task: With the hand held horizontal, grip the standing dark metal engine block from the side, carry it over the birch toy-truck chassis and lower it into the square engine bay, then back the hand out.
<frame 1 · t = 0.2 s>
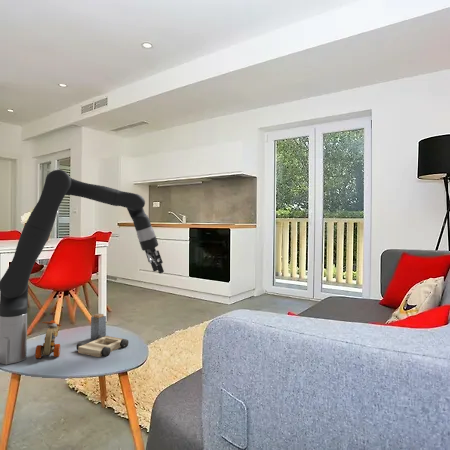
hand: (158, 271, 160), 31 cm above the table, tool tilted 20°, fingers open, 8 cm apart
engine block: (98, 338, 160), on the table
chassis: (103, 348, 147), on the table
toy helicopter: (50, 352, 142), on the table
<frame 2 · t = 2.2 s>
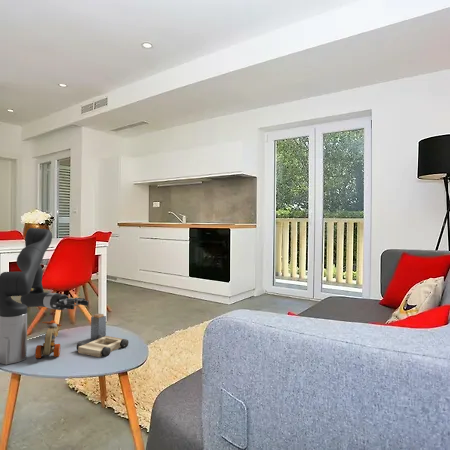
hand: (80, 305, 164), 14 cm above the table, tool horizontal, fingers open, 8 cm apart
nothing on the table moved.
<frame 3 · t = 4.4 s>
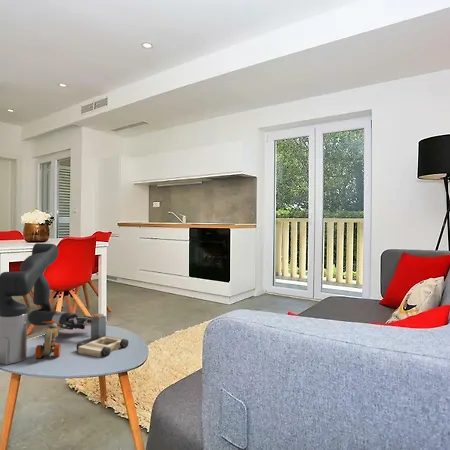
hand: (91, 324, 161), 6 cm above the table, tool horizontal, fingers open, 8 cm apart
nothing on the table moved.
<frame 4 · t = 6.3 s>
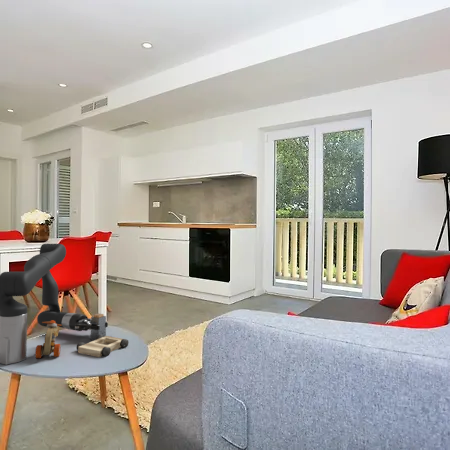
hand: (103, 326, 159), 6 cm above the table, tool horizontal, fingers closed on engine block, 4 cm apart
engine block: (98, 338, 160), on the table, touching gripper
everything else where it was.
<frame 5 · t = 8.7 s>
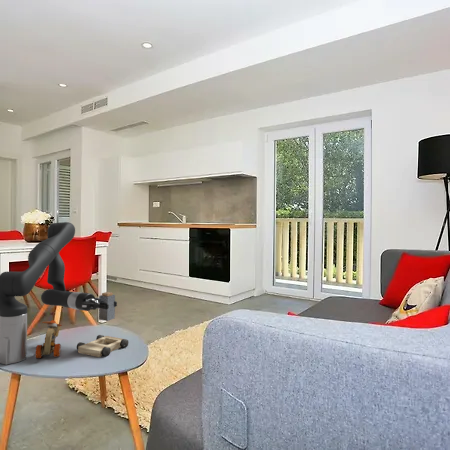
hand: (112, 305, 148), 18 cm above the table, tool horizontal, fingers closed on engine block, 4 cm apart
engine block: (106, 318, 149), point 12 cm above the table, touching gripper
everything else where it was.
when the fingers open (8 cm above the table, at t = 11.0 s): engine block drops 1 cm, resting on chassis.
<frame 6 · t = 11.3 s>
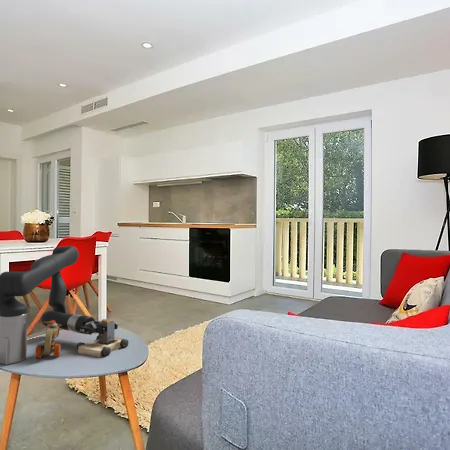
hand: (110, 328, 148), 8 cm above the table, tool horizontal, fingers open, 7 cm apart
engine block: (106, 346, 149), resting on chassis
everything else where it was.
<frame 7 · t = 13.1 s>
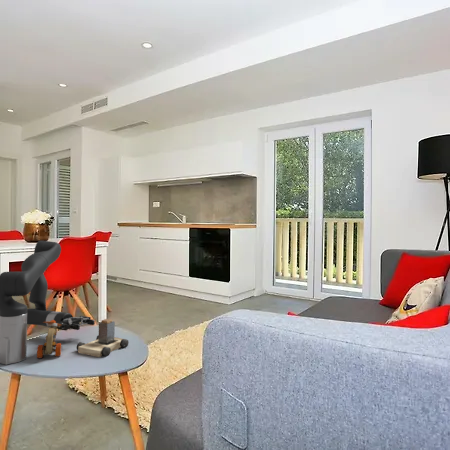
hand: (86, 324, 153), 8 cm above the table, tool horizontal, fingers open, 8 cm apart
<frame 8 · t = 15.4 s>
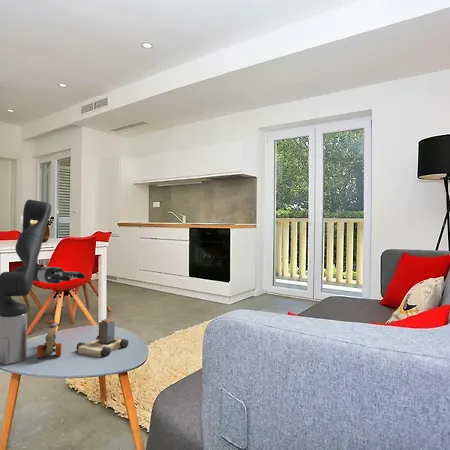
hand: (77, 277, 157), 28 cm above the table, tool horizontal, fingers open, 8 cm apart
nothing on the table moved.
at the end: engine block 0.1 cm from the target spot on the chassis, point 0.5 cm above the chassis's base; engine block tilted 0°; the gripper is holding nothing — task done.
